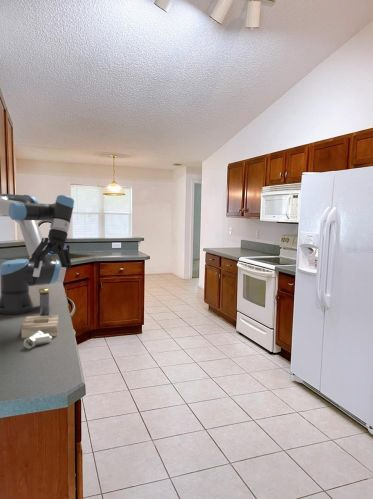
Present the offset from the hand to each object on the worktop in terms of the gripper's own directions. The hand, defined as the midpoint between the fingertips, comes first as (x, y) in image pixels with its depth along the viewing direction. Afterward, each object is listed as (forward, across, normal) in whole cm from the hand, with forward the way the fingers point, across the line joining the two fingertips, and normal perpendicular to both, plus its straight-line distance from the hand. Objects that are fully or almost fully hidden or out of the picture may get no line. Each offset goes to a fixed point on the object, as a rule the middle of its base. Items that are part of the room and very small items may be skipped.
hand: (48, 279), depth 145 cm
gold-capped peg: (+16, +6, +4) cm, 18 cm away
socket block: (+20, -5, -7) cm, 22 cm away
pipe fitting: (+24, -15, -17) cm, 33 cm away
